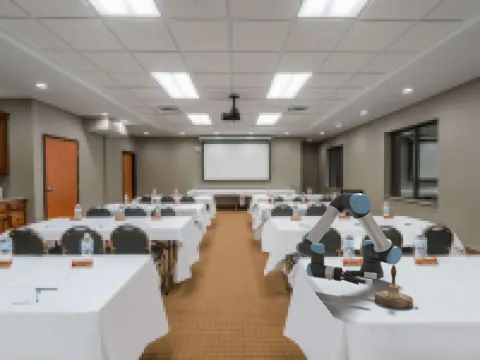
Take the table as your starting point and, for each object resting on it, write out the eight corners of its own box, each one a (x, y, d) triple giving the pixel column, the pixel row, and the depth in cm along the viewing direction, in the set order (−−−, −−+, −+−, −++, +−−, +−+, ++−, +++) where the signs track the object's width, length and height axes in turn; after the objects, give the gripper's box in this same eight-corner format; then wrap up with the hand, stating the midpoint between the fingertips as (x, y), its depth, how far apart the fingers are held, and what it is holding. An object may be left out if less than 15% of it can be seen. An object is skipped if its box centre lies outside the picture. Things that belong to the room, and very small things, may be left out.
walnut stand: (390, 294, 193) (390, 289, 193) (420, 305, 177) (420, 299, 177) (367, 299, 184) (367, 294, 184) (397, 311, 168) (397, 305, 168)
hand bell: (381, 294, 184) (382, 263, 184) (397, 293, 185) (397, 263, 185) (389, 299, 176) (390, 267, 176) (405, 299, 176) (405, 267, 176)
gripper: (339, 275, 206) (378, 280, 196) (328, 285, 185) (370, 292, 174) (340, 262, 206) (378, 267, 196) (328, 271, 185) (370, 277, 174)
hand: (374, 279), depth 185 cm, fingers open, 13 cm apart
